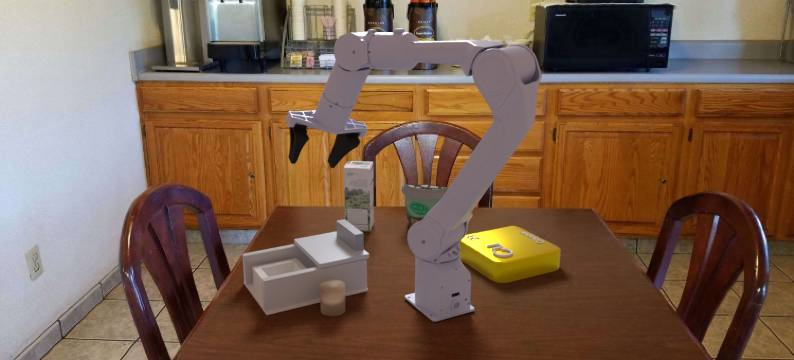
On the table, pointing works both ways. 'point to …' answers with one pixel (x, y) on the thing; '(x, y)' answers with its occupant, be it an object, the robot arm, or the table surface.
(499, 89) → the robot arm
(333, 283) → the beige cylinder
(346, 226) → the lid
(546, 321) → the table surface
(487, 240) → the element tile
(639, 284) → the table surface
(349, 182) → the syrup box
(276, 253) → the housing
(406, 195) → the food container
